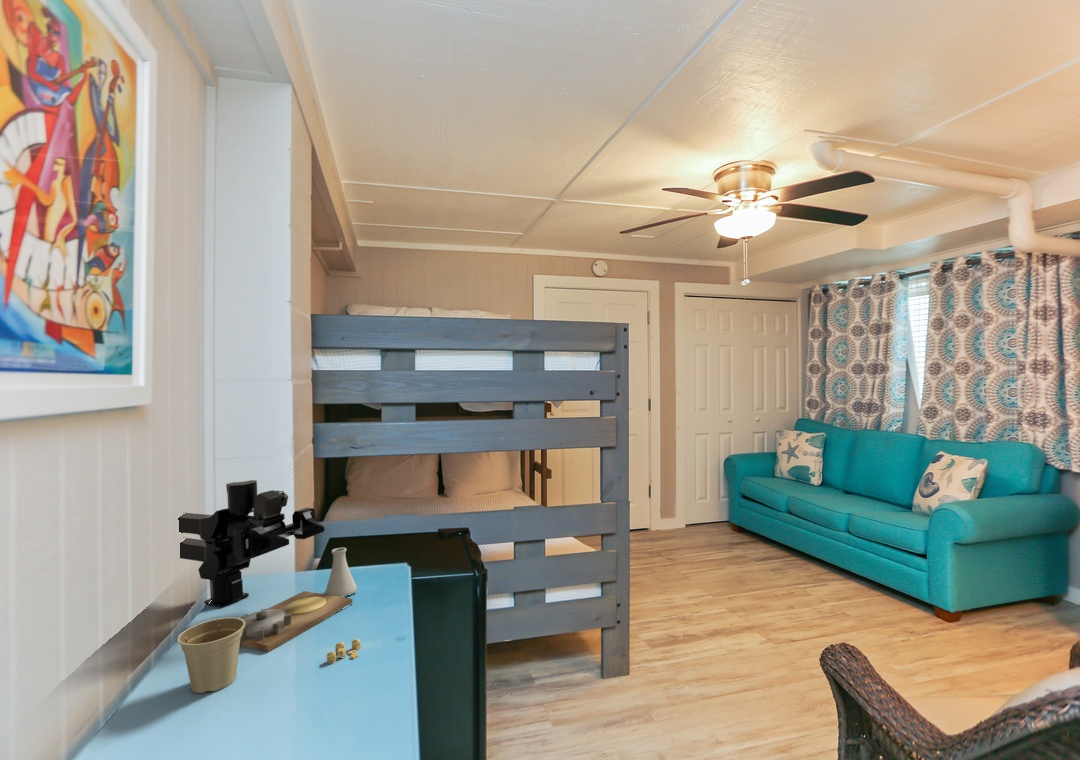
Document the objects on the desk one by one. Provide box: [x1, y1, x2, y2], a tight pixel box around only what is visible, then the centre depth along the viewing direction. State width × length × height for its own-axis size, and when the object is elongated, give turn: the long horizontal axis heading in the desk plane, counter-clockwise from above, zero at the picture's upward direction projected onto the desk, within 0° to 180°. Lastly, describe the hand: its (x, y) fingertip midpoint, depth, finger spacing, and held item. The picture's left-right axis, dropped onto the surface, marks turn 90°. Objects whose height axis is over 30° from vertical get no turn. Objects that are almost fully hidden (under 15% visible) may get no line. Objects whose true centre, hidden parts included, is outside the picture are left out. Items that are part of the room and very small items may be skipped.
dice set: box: [326, 638, 361, 665], centre depth 93 cm, size 5×5×2 cm
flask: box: [324, 546, 358, 597], centre depth 121 cm, size 7×7×10 cm
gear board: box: [239, 590, 353, 653], centre depth 108 cm, size 14×22×4 cm, turn 157°
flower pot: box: [176, 616, 245, 694], centre depth 86 cm, size 9×9×9 cm
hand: (306, 535), depth 110 cm, fingers open, 9 cm apart
